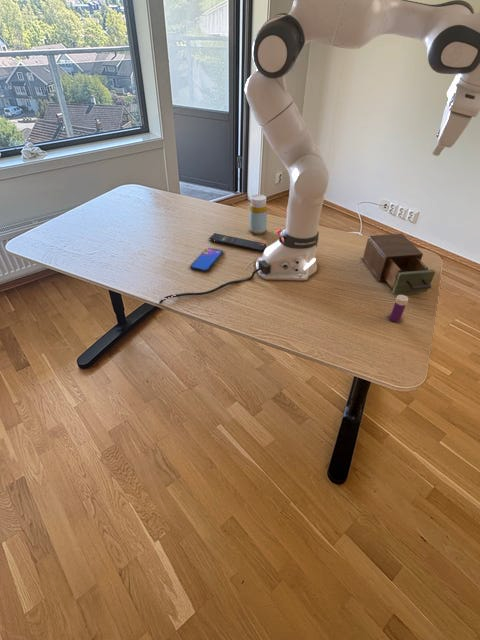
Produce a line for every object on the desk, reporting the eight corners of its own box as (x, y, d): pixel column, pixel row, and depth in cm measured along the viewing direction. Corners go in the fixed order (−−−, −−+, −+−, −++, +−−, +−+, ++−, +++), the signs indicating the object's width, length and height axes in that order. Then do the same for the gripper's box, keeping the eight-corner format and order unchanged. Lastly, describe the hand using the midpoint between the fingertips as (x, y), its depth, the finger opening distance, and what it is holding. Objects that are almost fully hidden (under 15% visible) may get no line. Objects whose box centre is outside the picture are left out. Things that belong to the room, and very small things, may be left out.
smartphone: (189, 266, 127) (207, 247, 137) (189, 268, 128) (207, 249, 138) (206, 270, 125) (223, 250, 135) (207, 272, 126) (224, 252, 136)
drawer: (434, 299, 110) (443, 279, 105) (399, 302, 109) (406, 282, 104) (407, 269, 124) (414, 250, 118) (376, 272, 123) (381, 252, 117)
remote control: (214, 236, 147) (214, 233, 146) (267, 247, 139) (267, 244, 138) (208, 241, 143) (208, 238, 142) (262, 253, 136) (262, 250, 135)
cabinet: (413, 278, 121) (423, 253, 115) (378, 281, 120) (386, 256, 113) (394, 256, 132) (402, 233, 126) (362, 259, 131) (368, 235, 125)
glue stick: (392, 322, 104) (400, 301, 98) (387, 315, 106) (395, 295, 101) (402, 321, 104) (410, 300, 99) (397, 315, 106) (405, 294, 101)
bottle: (264, 235, 146) (266, 201, 137) (248, 234, 148) (248, 200, 138) (267, 228, 152) (268, 194, 142) (251, 227, 153) (251, 193, 143)
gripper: (458, 70, 90) (430, 123, 102) (451, 106, 80) (421, 161, 91) (483, 76, 89) (452, 129, 101) (479, 113, 79) (445, 168, 90)
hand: (437, 145), depth 96 cm, fingers open, 8 cm apart
